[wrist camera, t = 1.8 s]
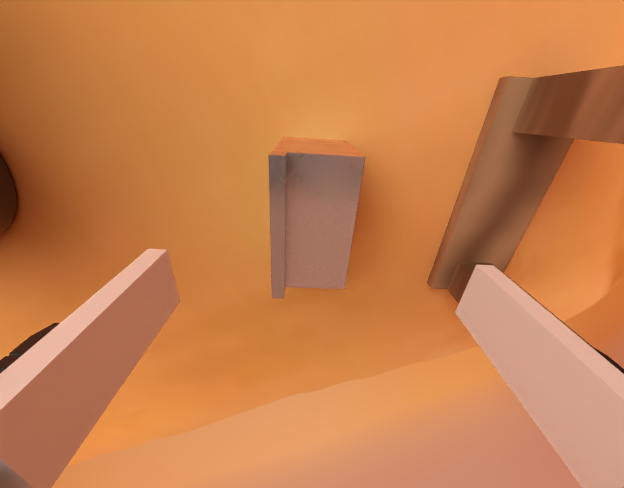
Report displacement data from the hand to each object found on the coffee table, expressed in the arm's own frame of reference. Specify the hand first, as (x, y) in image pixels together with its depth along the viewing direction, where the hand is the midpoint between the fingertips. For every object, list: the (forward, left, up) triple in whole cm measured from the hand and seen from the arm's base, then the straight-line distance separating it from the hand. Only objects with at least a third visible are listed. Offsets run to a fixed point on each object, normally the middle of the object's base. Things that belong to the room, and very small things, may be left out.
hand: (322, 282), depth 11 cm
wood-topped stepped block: (0, 0, -13) cm, 13 cm away
